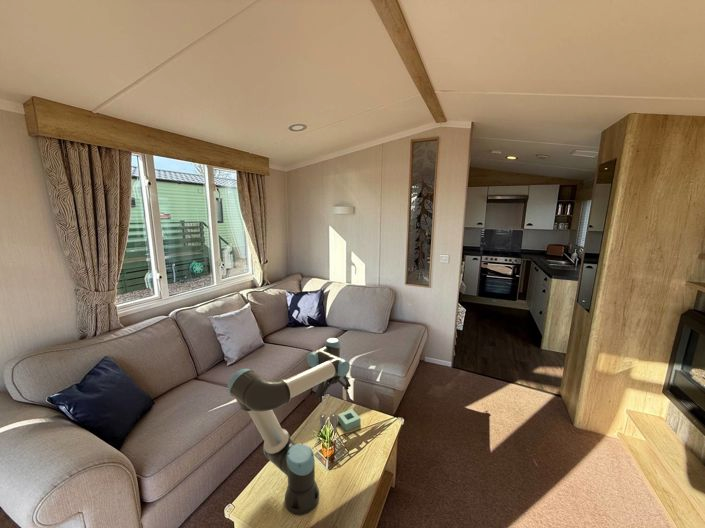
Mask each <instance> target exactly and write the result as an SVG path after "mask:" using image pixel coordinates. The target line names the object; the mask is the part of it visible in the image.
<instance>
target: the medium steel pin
mask: <svg viewBox="0 0 705 528" xmlns="http://www.w3.org/2000/svg"><path fill="white" fill-rule="evenodd" d="M324 425H325V426H326V414H324V413H321V414H319V431H320V430H321V429H322V428H323V426H324Z"/></svg>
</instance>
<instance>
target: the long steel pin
mask: <svg viewBox="0 0 705 528" xmlns="http://www.w3.org/2000/svg"><path fill="white" fill-rule="evenodd" d="M336 415H337V414H336V413H331V414H330V415H329V416H330V417H329V419H330V423H331V424H332V426H333V428H334V435H335V433H336V434H337V425H336ZM331 424H330V425H331Z"/></svg>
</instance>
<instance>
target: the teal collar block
mask: <svg viewBox="0 0 705 528" xmlns="http://www.w3.org/2000/svg"><path fill="white" fill-rule="evenodd" d="M361 422H362V421H361V417H360V416H359V415H358V413H356V412H355V411H354V409H353V408H350V409H348V410H346V411H342V412H340V413H338V414H337V423H338V424H340V426H341V427H342V429H344V431H345V432H348V431H350V430H352V429H354V428H356V427H359V426H361V424H362V423H361Z"/></svg>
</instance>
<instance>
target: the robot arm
mask: <svg viewBox="0 0 705 528" xmlns="http://www.w3.org/2000/svg"><path fill="white" fill-rule="evenodd" d="M324 344H325V345H324V346H322V347H319V348H318V349H315V350H313V351H312V352H310V353H308V354H307V356H306V362H307V364H308V366H309V367H310V368H308V369H306V370H304V371H302V372H299V373H297V374H295V375H292V376H290V377H288V378H286V379H282V378H279V379H277V380H268V379H266V378H265V377H263V376H261V375H259V374H258V373H256V372H255V371H254V370H253V369H249V368H242V369H239V370H238V371H236V372H234V374H232V376H231V377H230V379H229V382H228V383H227V391H228V393H229V394H230V396H231V397H233V398H234V399H235V400H236V402H237V403H238V405H239V407H240V409H241V410H242V411H244V412H247V413H248V415H249V416H250V418H251V420H252V422H253V423H254V425H255V426H256V429H257V431H258V432H259V434H260V436H261V438H262V440H263V441H264V442H263V446H262V447H263V448H262V449H263V453H264V456H265V458H266V459H267V460H269V461H270V462H271V463H272V464H273V465H274V466H276V467H277V468H278V469H279V470H280V471H281V472H282V473H283V474H285V476H286V477H287V487H286V491H285V494H284V506H285V508H286V510H287V511H288V512H289V513H290V514H293V515H295V516H304V515H306V514H309V513H311V512H312V511H313V510H314V509H315V508H316V506H317V505H318V503H319V500H320V490H319V486H318V485H317V484H318V483H317V482H316V479H315V477H316V476H315V473H316V472H315V463H316V462H315V461H316V460H315V455H314V450H313V449H312V448H311V447H310V446H309V445H308V444H305V443H302V444H301V443H296V442H294V440H293V439H292V438H291V436H290V434H289V432H288V431H287V429H285V428H282V427H281V424H280V423H279V420H278V418H277V416H276V415H275V412H274V411H273V410H274V409H277V408H280V407H283V406H285V405H288V403H289V402H291V399H292V398H294V397H297V396H298V395H301V394H302V393H304V392H306V391H307V390H310V389H312V388H314V387H316V386H318V387H317V389H316V392H315V397H316V398H318V402H319V403H320V407H321V409H324V408H325V399H324V395H325V393H327V390H328V389H329V387H331V385H335V384H337V383H339V384H340V385H341V386H343V387H342V399H343V400H344V401H347V394H348V390H349V388H351V387H352V385H351V383H350V382H349V379H348V378H347V375H348V374H349V372H350V369H351V368H350V367H351V365H350V362H349V361H348V360H346V359H345V358H342V357H341V343H340V340H339V339H338V338H336V337H330V338H327V339H326V340H325V343H324ZM341 377H342V379H343V380H344V382H345V383H344V382H343V381H342V380H341Z"/></svg>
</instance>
